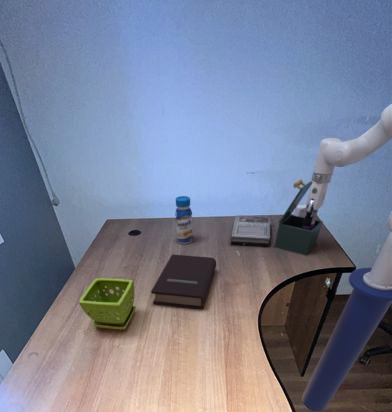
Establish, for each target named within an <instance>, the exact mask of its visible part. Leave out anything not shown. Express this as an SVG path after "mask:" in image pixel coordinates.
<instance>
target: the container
mask: <svg viewBox="0 0 392 412" xmlns="http://www.w3.org/2000/svg"><path fill="white" fill-rule="evenodd" d="M310 212H311V213H312V211H310ZM317 216H318V212H317V210H316V211H315V210H314V213H313V216H312V217H313V219H312V222H311V226H310V227H309V226H304V225H303V226H302V229H306V230H311V231H312V230H313V226H314V223H315V220H317ZM303 223H304V222H303Z"/></svg>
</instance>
